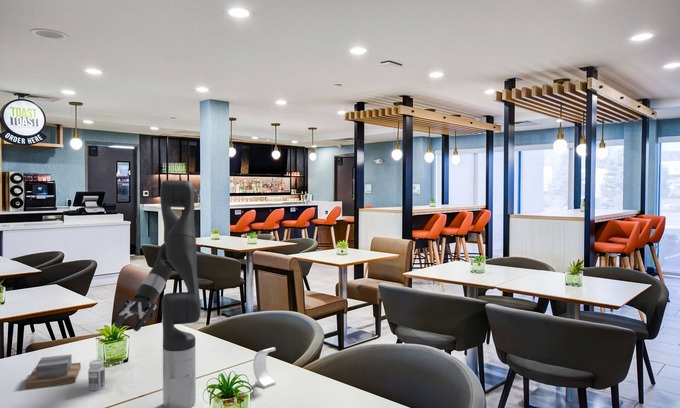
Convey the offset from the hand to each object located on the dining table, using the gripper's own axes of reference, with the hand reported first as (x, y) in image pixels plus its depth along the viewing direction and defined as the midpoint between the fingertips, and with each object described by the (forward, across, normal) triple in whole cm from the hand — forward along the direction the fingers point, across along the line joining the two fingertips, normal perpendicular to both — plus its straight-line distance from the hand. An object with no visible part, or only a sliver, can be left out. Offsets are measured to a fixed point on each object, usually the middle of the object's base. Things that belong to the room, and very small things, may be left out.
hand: (125, 328), depth 165 cm
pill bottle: (+20, 0, +3) cm, 20 cm away
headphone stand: (+2, +48, +20) cm, 52 cm away
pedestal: (+20, -20, +3) cm, 28 cm away
